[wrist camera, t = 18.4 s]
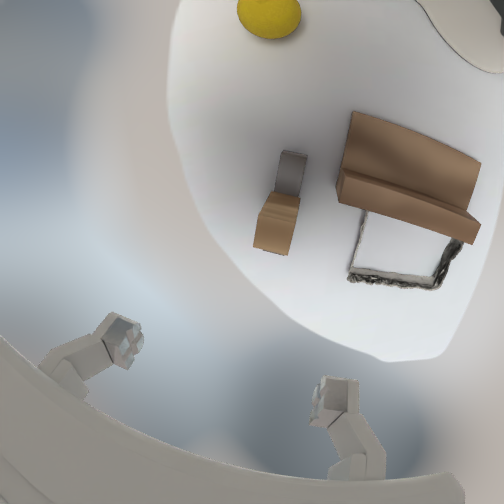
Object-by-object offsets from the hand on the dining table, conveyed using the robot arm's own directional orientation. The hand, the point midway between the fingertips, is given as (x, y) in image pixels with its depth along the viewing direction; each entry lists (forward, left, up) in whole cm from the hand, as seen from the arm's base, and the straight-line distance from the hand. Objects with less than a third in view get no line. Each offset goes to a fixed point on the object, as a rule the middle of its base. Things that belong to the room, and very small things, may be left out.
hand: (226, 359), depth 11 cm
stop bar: (-6, +13, -22) cm, 26 cm away
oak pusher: (+1, 0, -22) cm, 22 cm away
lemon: (-19, -4, -22) cm, 29 cm away
